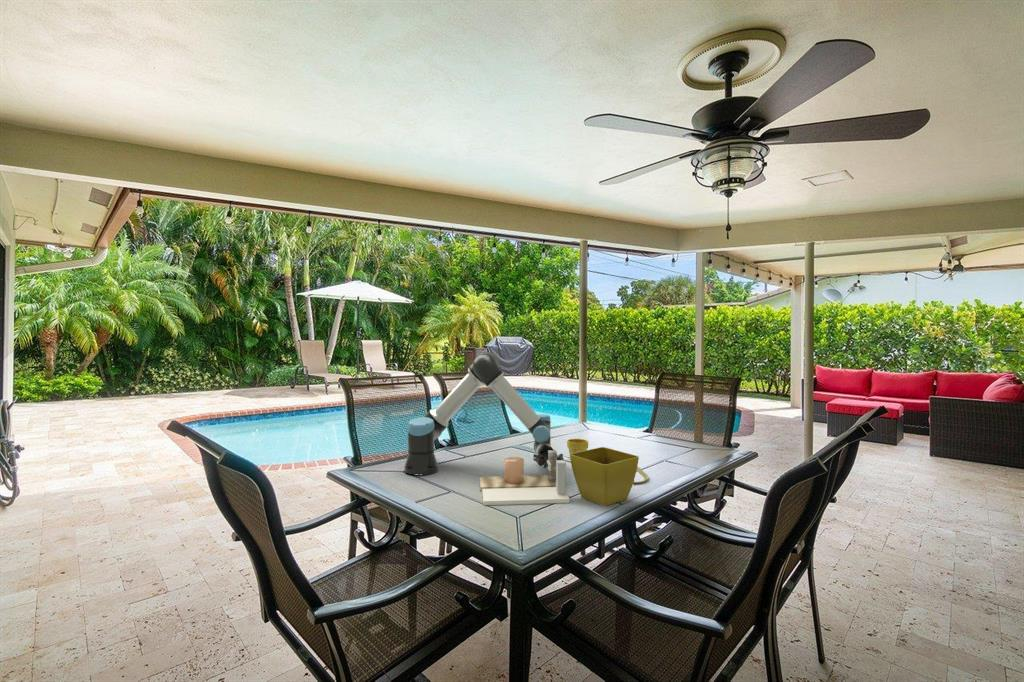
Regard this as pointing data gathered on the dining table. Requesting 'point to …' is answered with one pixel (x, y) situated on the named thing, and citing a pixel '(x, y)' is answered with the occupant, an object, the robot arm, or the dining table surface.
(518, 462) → the tan rounded cylinder
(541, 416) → the robot arm
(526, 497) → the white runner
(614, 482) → the flower pot
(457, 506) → the dining table surface
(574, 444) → the plant pot
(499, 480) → the oak runner
